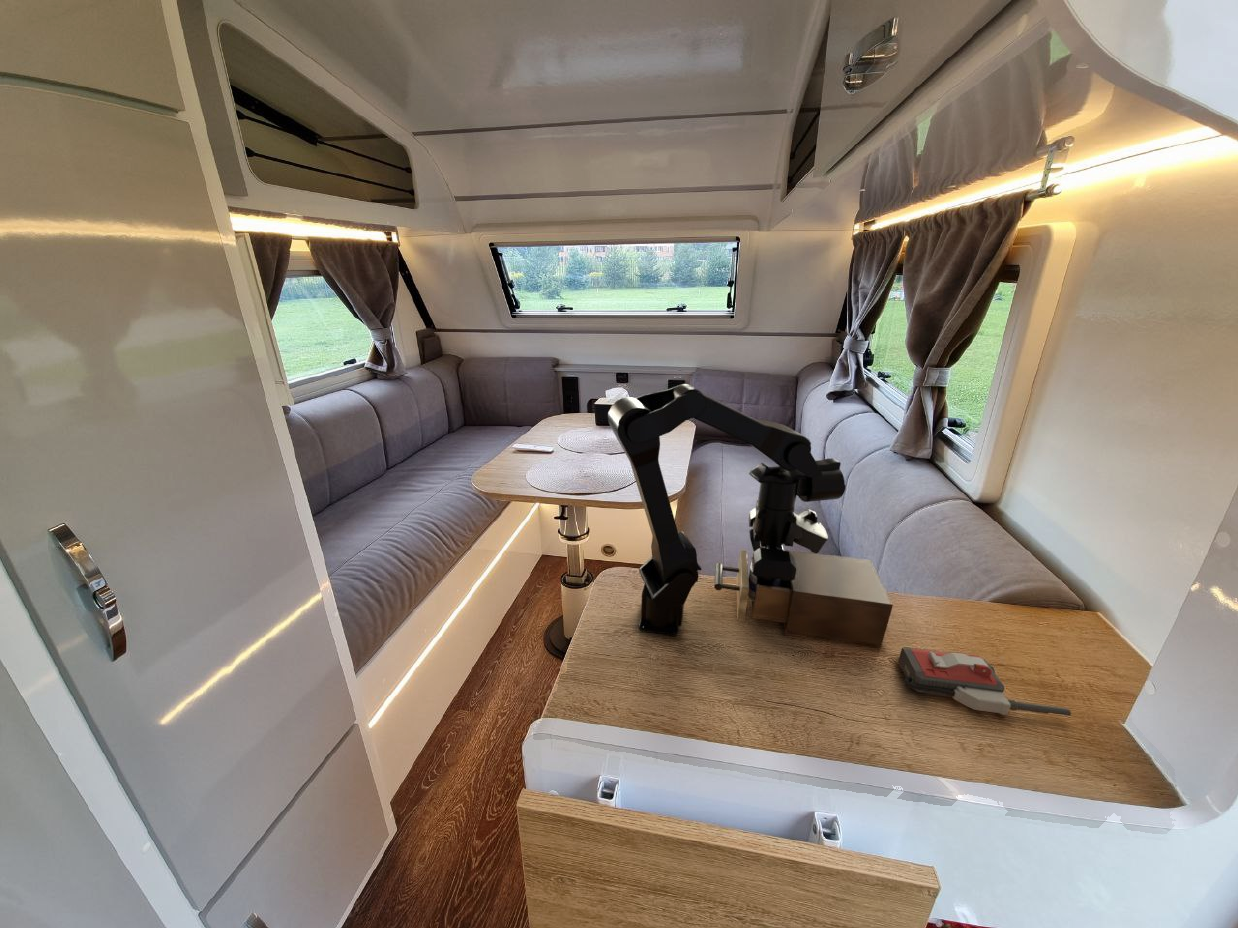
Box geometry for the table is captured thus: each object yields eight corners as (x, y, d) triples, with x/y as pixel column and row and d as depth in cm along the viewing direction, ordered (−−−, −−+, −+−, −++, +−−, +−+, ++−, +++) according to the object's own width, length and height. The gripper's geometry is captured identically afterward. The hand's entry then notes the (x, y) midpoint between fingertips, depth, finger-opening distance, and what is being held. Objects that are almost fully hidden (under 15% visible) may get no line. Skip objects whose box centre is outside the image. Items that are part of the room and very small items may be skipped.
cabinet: (785, 633, 78) (793, 591, 75) (778, 588, 90) (784, 549, 87) (880, 648, 76) (893, 604, 72) (860, 599, 87) (870, 559, 84)
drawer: (711, 615, 81) (715, 582, 78) (713, 577, 91) (716, 546, 89) (821, 632, 77) (829, 598, 75) (810, 590, 88) (816, 559, 85)
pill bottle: (778, 592, 85) (786, 550, 82) (775, 609, 81) (783, 565, 77) (749, 584, 87) (755, 543, 84) (744, 601, 83) (750, 558, 79)
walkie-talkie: (910, 704, 66) (1072, 726, 63) (918, 680, 64) (1084, 702, 61) (887, 657, 74) (1030, 675, 71) (894, 635, 72) (1040, 652, 69)
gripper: (841, 537, 67) (821, 625, 73) (818, 485, 84) (804, 559, 90) (760, 528, 69) (747, 614, 75) (753, 478, 86) (743, 552, 92)
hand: (763, 582), depth 83 cm, fingers closed on pill bottle, 5 cm apart
